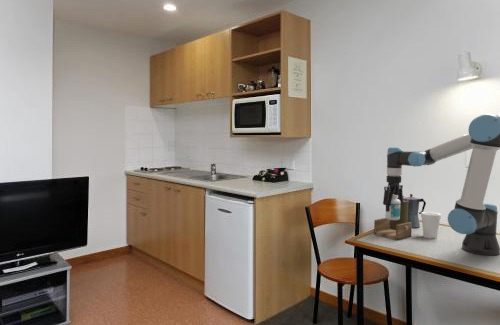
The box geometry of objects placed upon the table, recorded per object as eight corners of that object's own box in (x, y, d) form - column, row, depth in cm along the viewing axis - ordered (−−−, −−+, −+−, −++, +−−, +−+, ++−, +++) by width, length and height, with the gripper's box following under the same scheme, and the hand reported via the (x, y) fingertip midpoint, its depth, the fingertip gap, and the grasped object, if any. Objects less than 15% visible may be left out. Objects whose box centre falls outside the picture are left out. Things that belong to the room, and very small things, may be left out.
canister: (404, 226, 208) (405, 194, 206) (410, 231, 197) (411, 197, 196) (386, 226, 209) (386, 194, 208) (391, 230, 198) (392, 197, 197)
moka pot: (404, 223, 217) (404, 192, 216) (429, 227, 205) (430, 195, 204) (396, 225, 211) (397, 193, 210) (422, 230, 199) (423, 196, 198)
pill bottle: (382, 218, 190) (383, 194, 189) (392, 217, 193) (393, 193, 192) (392, 221, 183) (393, 196, 182) (402, 220, 186) (403, 195, 185)
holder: (412, 237, 185) (413, 222, 184) (399, 240, 178) (400, 225, 178) (385, 230, 199) (386, 217, 198) (372, 233, 192) (373, 219, 192)
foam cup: (426, 239, 181) (426, 215, 180) (417, 234, 190) (418, 211, 190) (443, 239, 181) (444, 215, 180) (434, 234, 190) (434, 211, 190)
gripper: (398, 173, 195) (397, 212, 197) (376, 175, 184) (375, 217, 185) (410, 174, 189) (409, 215, 190) (388, 177, 178) (387, 219, 179)
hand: (392, 216), depth 188 cm, fingers closed on pill bottle, 7 cm apart
